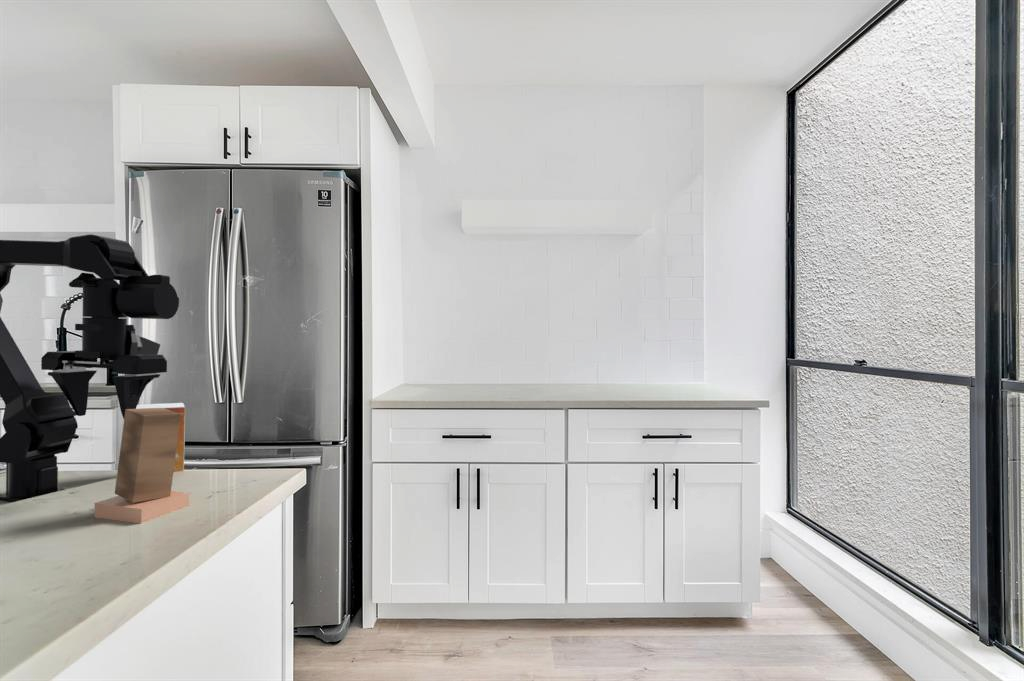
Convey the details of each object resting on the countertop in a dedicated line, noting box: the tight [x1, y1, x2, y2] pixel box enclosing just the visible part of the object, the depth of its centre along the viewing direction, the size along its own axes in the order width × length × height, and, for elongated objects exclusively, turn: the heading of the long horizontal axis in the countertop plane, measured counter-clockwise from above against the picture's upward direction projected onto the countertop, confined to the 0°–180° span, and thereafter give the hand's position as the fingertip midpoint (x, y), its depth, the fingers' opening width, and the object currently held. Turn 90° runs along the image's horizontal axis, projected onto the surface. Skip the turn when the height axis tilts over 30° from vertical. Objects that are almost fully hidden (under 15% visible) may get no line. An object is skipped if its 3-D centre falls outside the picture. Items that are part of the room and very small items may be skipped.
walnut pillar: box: [114, 408, 181, 503], centre depth 82 cm, size 5×5×12 cm
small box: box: [136, 402, 186, 473], centre depth 105 cm, size 8×6×13 cm
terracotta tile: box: [93, 490, 190, 524], centre depth 82 cm, size 8×8×2 cm
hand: (104, 417), depth 90 cm, fingers open, 9 cm apart
